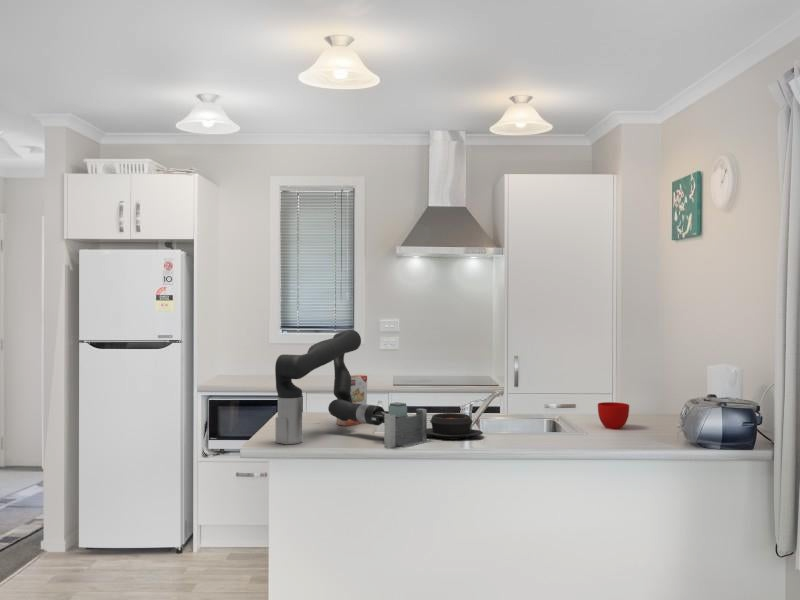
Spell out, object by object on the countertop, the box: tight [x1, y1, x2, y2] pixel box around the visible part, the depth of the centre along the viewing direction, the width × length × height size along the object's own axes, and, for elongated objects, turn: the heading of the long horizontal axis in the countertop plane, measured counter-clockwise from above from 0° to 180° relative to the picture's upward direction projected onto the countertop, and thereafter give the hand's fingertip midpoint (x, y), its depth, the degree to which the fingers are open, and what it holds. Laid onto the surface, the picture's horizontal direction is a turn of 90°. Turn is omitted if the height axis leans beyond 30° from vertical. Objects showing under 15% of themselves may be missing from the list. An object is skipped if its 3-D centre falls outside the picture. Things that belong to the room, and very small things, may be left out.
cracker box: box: [336, 374, 368, 427], centre depth 332 cm, size 14×6×21 cm, turn 143°
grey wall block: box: [383, 408, 429, 449], centre depth 286 cm, size 21×6×12 cm, turn 139°
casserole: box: [427, 412, 484, 440], centre depth 302 cm, size 25×19×8 cm
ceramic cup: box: [597, 401, 630, 430], centre depth 326 cm, size 13×17×10 cm
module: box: [388, 401, 408, 418], centre depth 290 cm, size 5×5×13 cm
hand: (403, 419), depth 288 cm, fingers closed on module, 5 cm apart
